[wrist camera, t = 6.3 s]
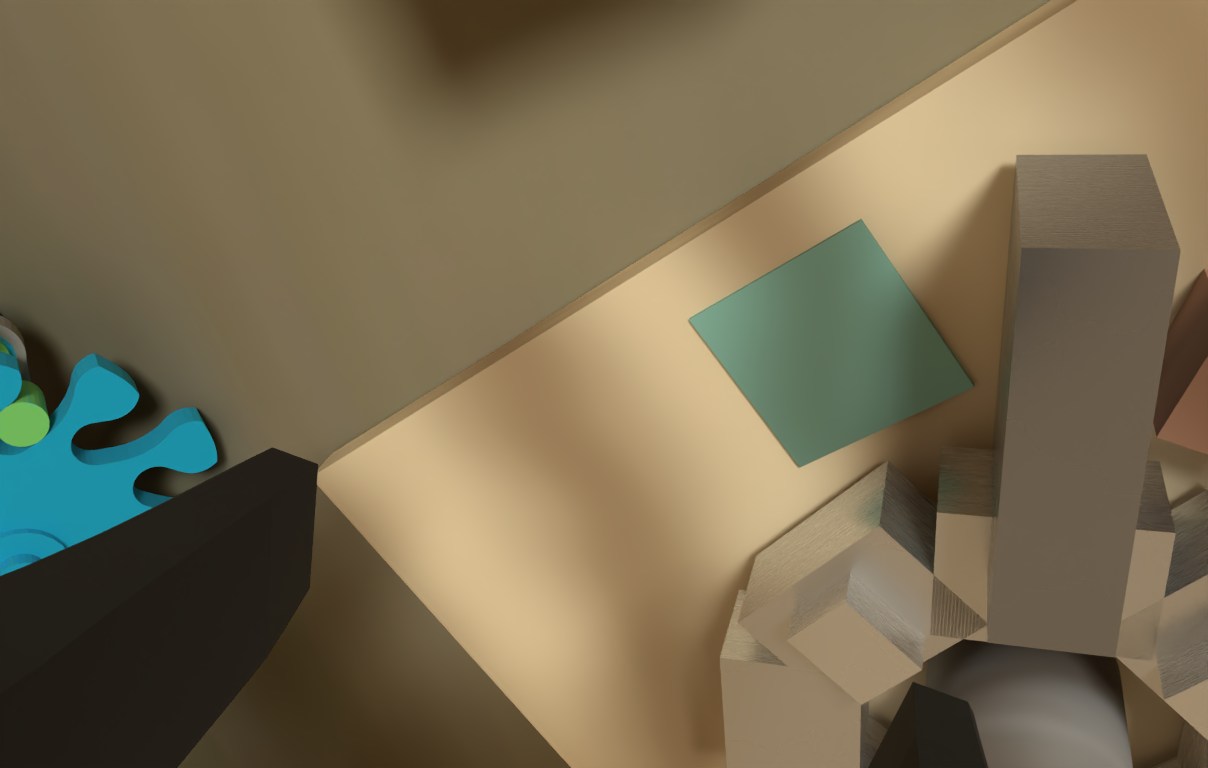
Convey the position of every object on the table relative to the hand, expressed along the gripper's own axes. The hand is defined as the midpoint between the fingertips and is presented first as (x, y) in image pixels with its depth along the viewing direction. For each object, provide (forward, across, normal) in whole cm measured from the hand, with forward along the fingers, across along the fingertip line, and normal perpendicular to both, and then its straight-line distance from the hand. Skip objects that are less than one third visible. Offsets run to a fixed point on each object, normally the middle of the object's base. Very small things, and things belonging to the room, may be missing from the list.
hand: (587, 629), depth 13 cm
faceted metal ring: (+8, -7, +3) cm, 11 cm away
